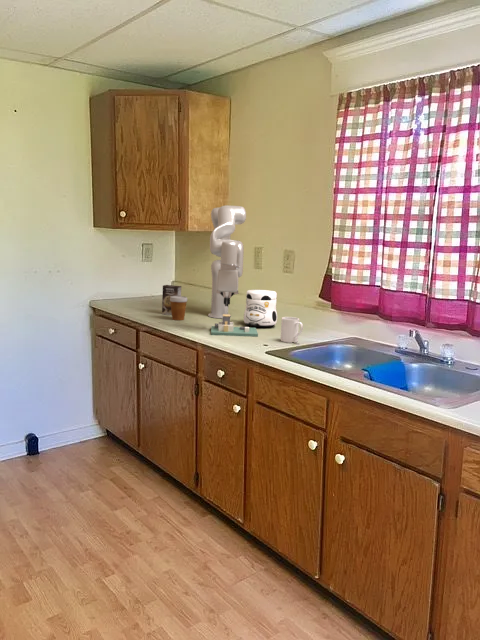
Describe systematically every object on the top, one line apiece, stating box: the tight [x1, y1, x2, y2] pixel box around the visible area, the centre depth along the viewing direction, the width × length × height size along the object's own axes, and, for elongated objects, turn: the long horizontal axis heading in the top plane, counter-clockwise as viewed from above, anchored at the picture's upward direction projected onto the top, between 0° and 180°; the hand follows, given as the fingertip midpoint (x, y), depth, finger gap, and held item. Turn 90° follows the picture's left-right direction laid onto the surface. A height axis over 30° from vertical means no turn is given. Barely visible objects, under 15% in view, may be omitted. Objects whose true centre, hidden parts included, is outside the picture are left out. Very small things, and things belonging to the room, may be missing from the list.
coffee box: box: [161, 284, 182, 316], centre depth 313 cm, size 9×6×16 cm
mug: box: [280, 316, 304, 344], centre depth 254 cm, size 12×8×10 cm, turn 35°
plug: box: [221, 313, 231, 325], centre depth 270 cm, size 6×4×7 cm, turn 2°
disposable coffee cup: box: [170, 295, 188, 321], centre depth 298 cm, size 10×10×12 cm
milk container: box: [243, 289, 278, 328], centre depth 290 cm, size 17×17×18 cm
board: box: [210, 321, 259, 338], centre depth 271 cm, size 16×22×4 cm
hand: (226, 305), depth 269 cm, fingers closed
